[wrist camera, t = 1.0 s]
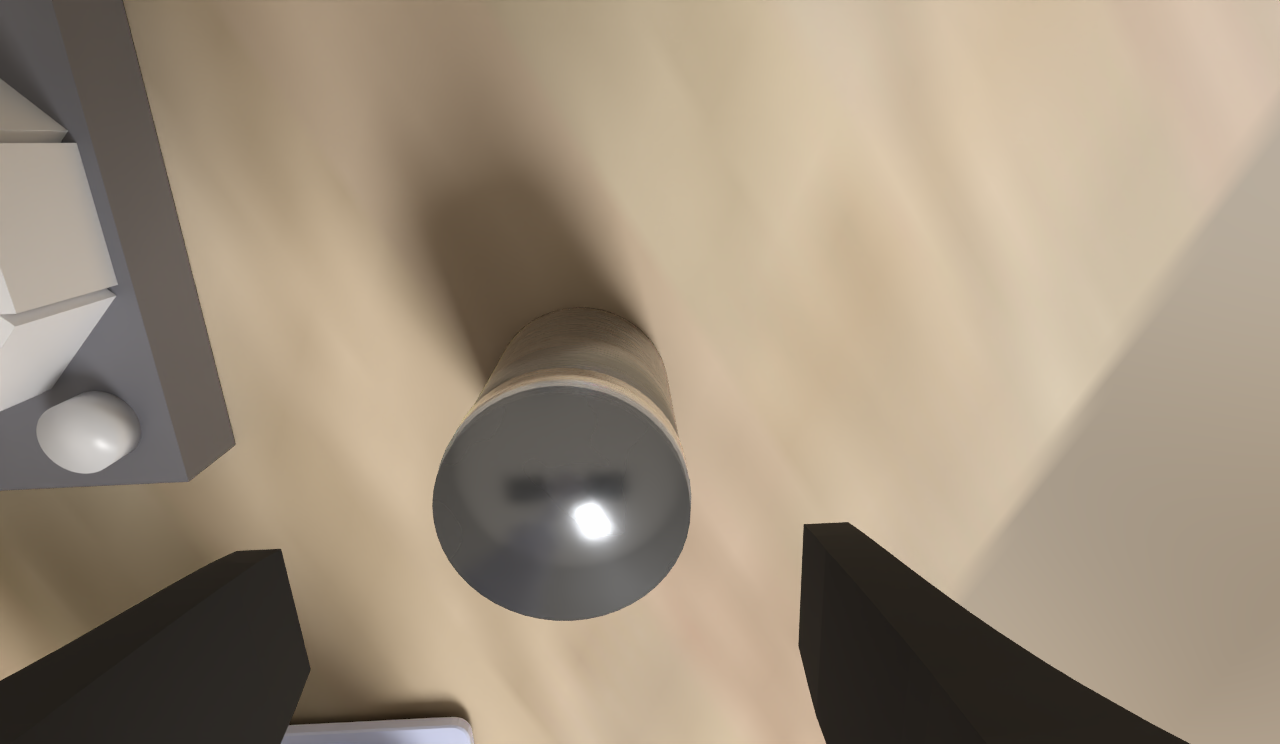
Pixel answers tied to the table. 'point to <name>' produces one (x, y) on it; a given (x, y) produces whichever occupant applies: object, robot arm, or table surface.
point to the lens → (567, 472)
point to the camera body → (93, 267)
